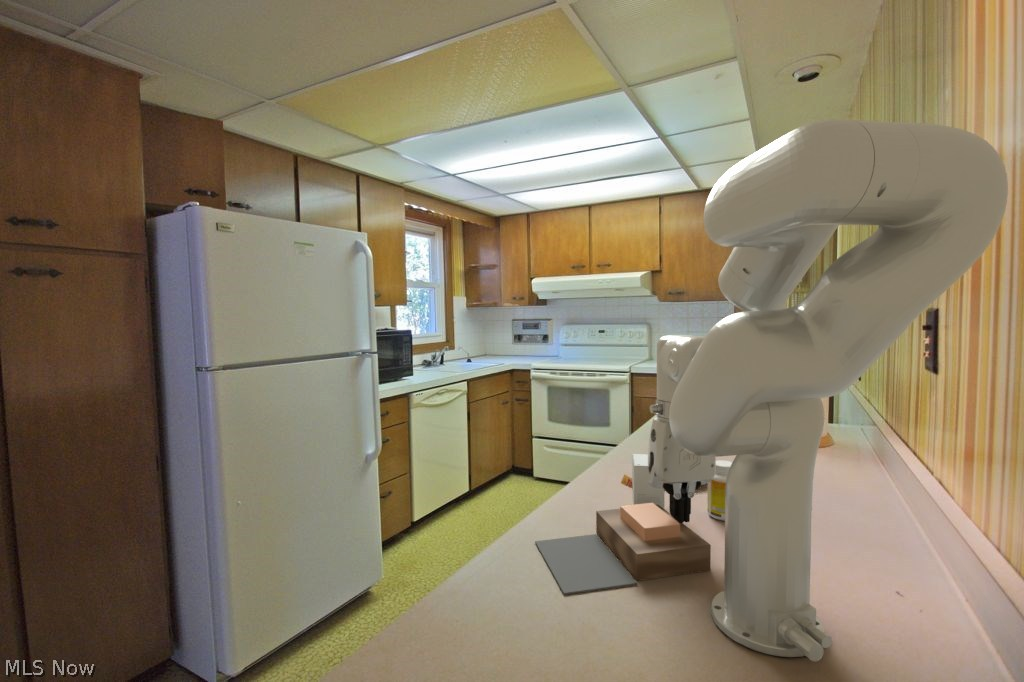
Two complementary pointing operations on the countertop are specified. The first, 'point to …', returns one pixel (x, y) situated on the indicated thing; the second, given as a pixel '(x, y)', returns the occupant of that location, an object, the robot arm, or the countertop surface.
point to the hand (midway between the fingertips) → (680, 519)
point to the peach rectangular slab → (650, 521)
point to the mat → (583, 564)
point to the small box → (644, 483)
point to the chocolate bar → (627, 481)
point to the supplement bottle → (718, 490)
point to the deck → (653, 548)
